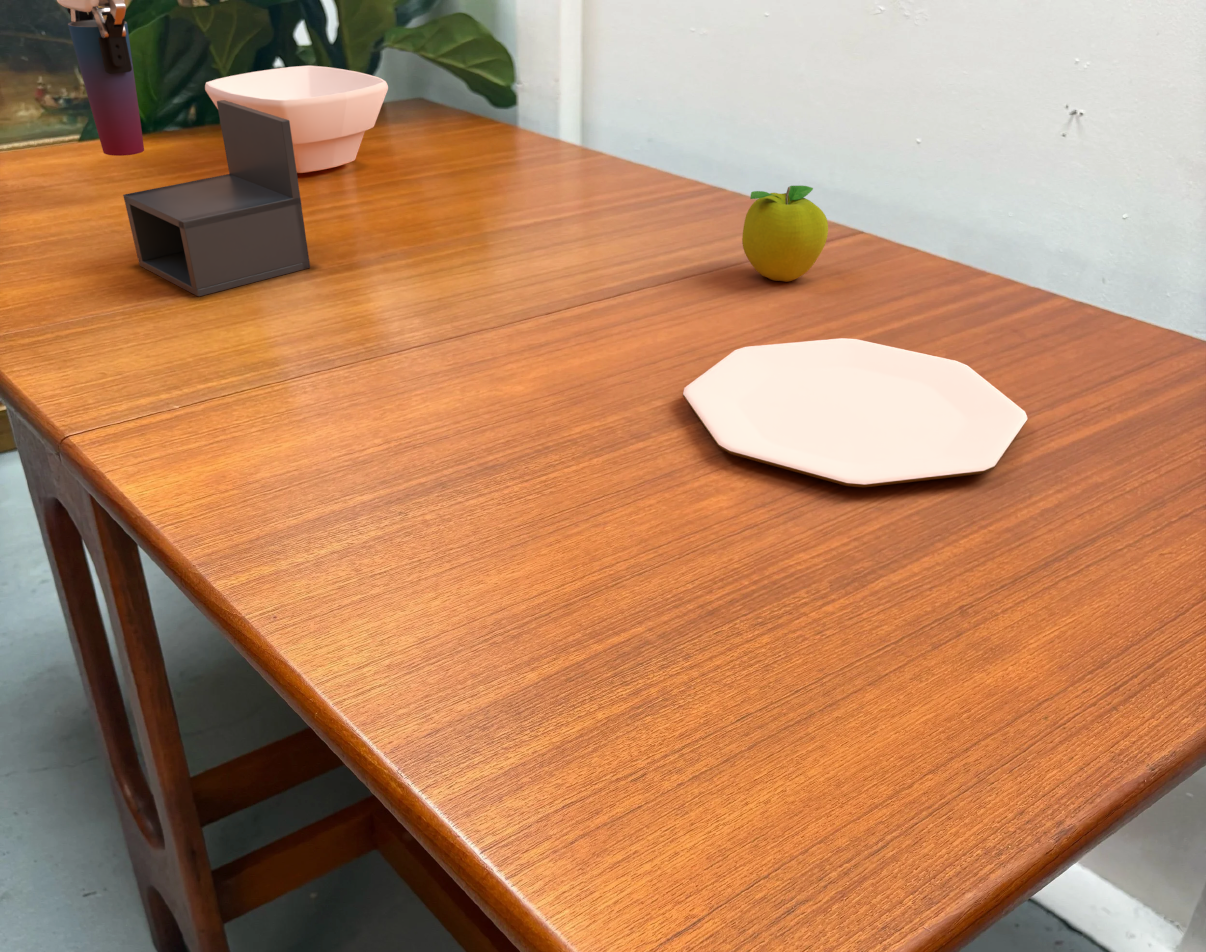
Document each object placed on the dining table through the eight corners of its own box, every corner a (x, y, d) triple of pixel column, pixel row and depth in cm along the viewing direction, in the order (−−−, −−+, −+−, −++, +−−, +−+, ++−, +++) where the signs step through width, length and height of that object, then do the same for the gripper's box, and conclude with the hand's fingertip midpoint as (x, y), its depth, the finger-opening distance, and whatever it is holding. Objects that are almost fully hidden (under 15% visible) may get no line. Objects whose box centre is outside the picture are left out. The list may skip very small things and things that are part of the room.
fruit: (722, 273, 130) (728, 183, 124) (785, 259, 134) (794, 171, 128) (774, 297, 124) (783, 203, 118) (838, 282, 128) (850, 191, 122)
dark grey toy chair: (198, 297, 123) (166, 141, 113) (139, 265, 131) (105, 118, 122) (310, 267, 131) (289, 120, 121) (248, 240, 139) (224, 99, 130)
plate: (655, 368, 108) (656, 353, 107) (922, 344, 113) (925, 330, 112) (754, 512, 86) (755, 495, 85) (1079, 474, 91) (1084, 457, 90)
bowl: (321, 141, 180) (311, 61, 173) (415, 166, 168) (407, 81, 162) (199, 168, 166) (183, 82, 160) (291, 196, 154) (278, 105, 148)
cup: (141, 157, 145) (115, 27, 137) (88, 156, 145) (58, 26, 137) (158, 146, 151) (134, 20, 143) (107, 145, 151) (80, 19, 142)
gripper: (10, -103, 136) (48, 63, 145) (71, -96, 125) (107, 81, 135) (73, -103, 140) (106, 57, 150) (136, -97, 130) (167, 75, 140)
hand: (106, 67), depth 142 cm, fingers closed on cup, 6 cm apart
